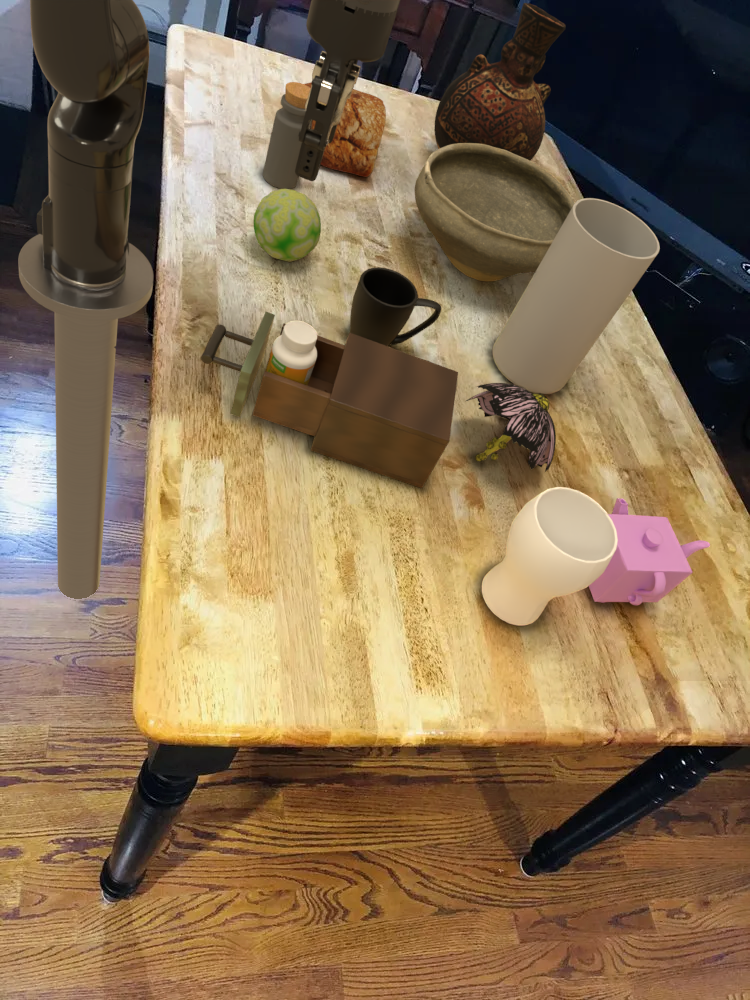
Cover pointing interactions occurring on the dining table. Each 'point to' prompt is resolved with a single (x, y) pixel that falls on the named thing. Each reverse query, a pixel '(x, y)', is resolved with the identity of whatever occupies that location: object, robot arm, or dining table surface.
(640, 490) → the dining table surface
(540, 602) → the cup
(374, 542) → the dining table surface
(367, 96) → the bread
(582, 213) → the cylinder vase
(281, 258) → the decorative ball
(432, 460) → the cabinet
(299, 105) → the bottle
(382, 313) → the mug
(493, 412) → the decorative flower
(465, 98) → the ceramic vessel
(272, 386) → the drawer
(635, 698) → the dining table surface
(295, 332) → the supplement bottle
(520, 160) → the bowl
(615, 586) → the teapot
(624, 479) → the dining table surface
